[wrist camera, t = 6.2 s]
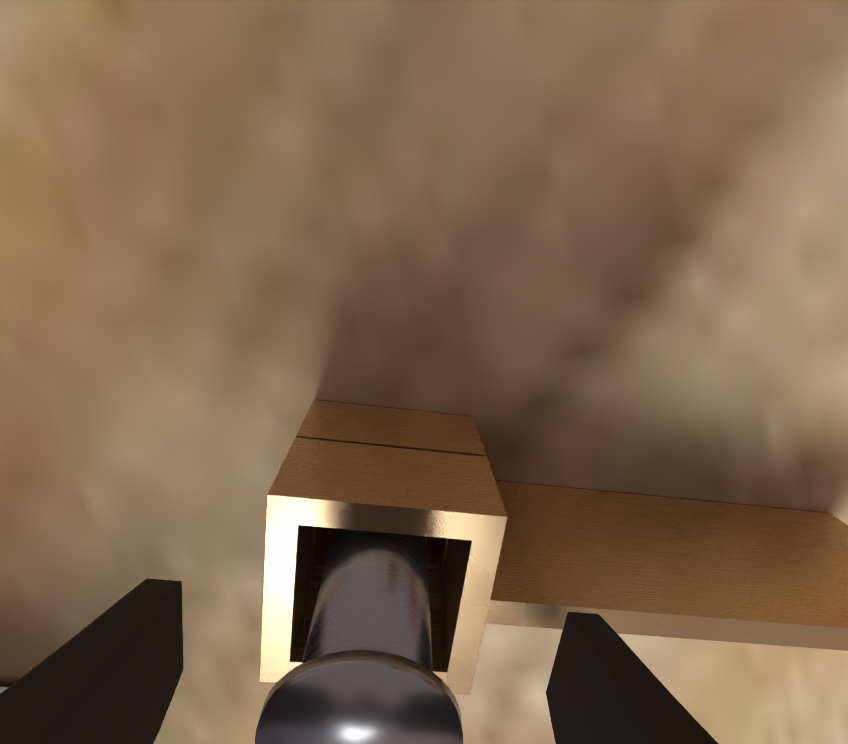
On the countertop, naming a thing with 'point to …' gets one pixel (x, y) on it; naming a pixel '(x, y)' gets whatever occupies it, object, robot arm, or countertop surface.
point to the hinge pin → (366, 654)
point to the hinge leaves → (536, 546)
